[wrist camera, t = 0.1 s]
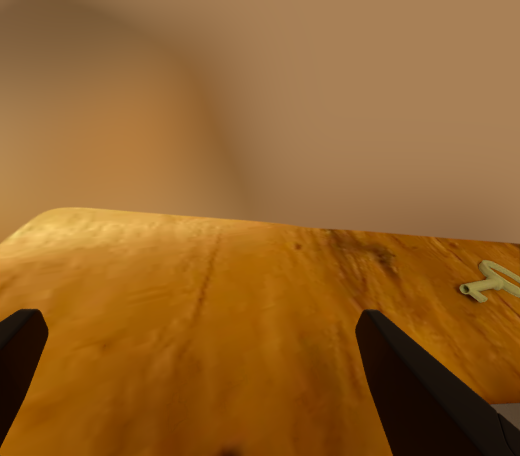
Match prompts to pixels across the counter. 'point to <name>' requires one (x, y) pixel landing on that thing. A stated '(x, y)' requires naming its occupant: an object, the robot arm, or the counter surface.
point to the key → (491, 282)
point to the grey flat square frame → (509, 412)
